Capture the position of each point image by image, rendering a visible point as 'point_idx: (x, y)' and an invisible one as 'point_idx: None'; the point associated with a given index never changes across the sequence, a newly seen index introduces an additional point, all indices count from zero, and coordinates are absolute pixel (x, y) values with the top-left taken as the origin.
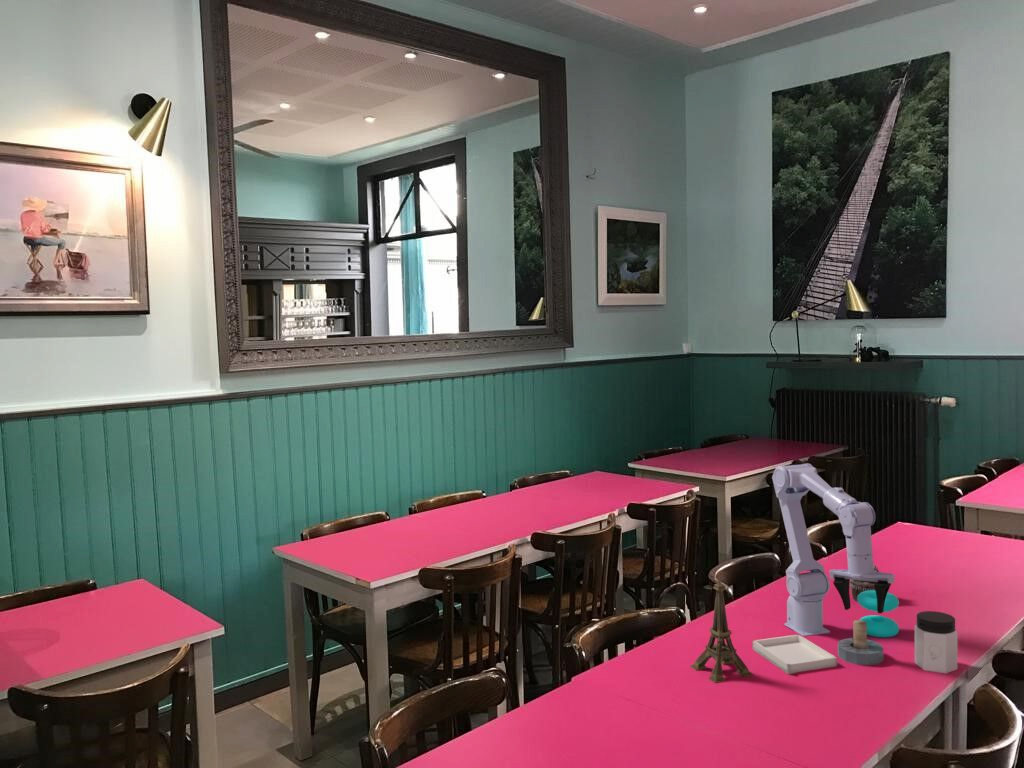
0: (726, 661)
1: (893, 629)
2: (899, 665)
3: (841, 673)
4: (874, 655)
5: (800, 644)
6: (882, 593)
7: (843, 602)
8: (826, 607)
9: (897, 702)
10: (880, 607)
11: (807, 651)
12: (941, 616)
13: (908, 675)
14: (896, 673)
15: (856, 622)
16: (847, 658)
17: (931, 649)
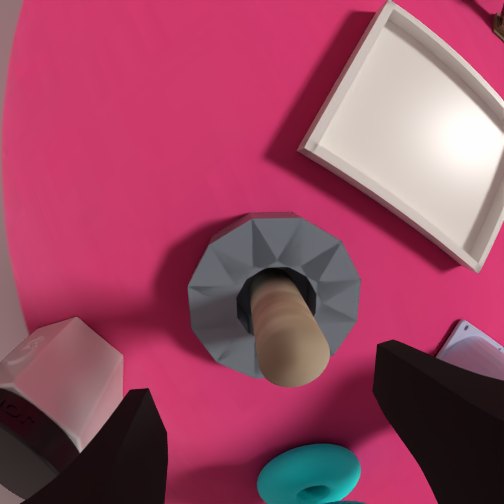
0: (499, 19)
1: (262, 482)
2: (145, 313)
3: (259, 108)
4: (197, 266)
5: (454, 238)
6: (26, 501)
7: (429, 357)
8: None
9: (48, 50)
10: (112, 416)
11: (421, 194)
12: (6, 474)
13: (88, 253)
14: (119, 242)
15: (309, 345)
16: (288, 214)
17: (26, 351)
